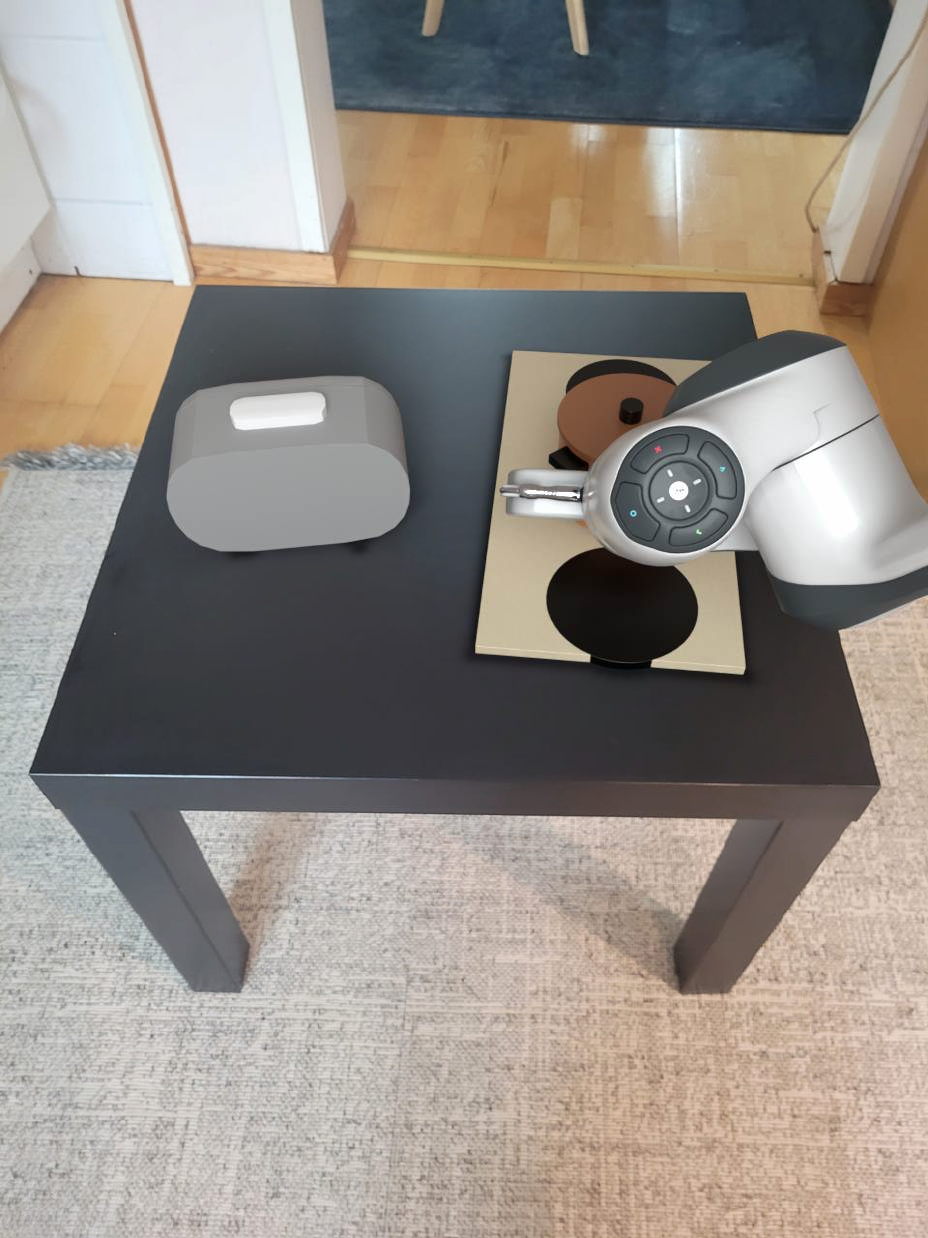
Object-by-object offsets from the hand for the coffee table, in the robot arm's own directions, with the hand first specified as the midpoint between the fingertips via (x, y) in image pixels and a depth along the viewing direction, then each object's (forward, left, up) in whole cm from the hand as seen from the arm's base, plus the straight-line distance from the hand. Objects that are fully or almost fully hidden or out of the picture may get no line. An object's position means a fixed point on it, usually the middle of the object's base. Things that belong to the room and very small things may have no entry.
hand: (625, 502), depth 80 cm
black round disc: (0, +7, -6) cm, 9 cm away
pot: (0, -7, -5) cm, 9 cm away
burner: (0, -22, -6) cm, 23 cm away
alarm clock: (+30, -2, -7) cm, 30 cm away
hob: (+1, -8, -6) cm, 10 cm away
